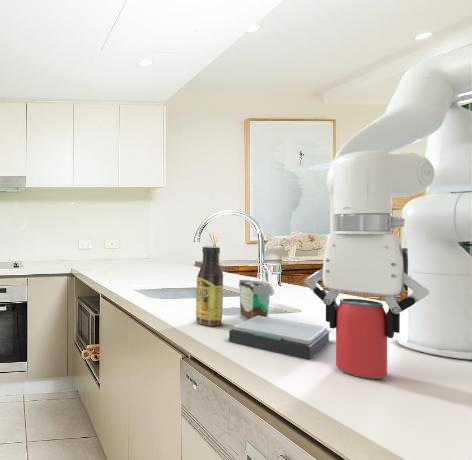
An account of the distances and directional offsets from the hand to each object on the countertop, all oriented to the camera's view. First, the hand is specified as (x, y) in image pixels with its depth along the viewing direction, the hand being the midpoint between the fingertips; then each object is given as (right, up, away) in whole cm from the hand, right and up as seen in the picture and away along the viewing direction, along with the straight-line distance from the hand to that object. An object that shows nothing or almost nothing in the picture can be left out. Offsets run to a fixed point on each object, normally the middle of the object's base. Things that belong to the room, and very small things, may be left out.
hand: (360, 330), depth 60 cm
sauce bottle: (-12, -7, +31) cm, 34 cm away
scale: (-3, -7, +17) cm, 18 cm away
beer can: (0, -7, 0) cm, 7 cm away
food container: (+3, -7, +35) cm, 36 cm away
